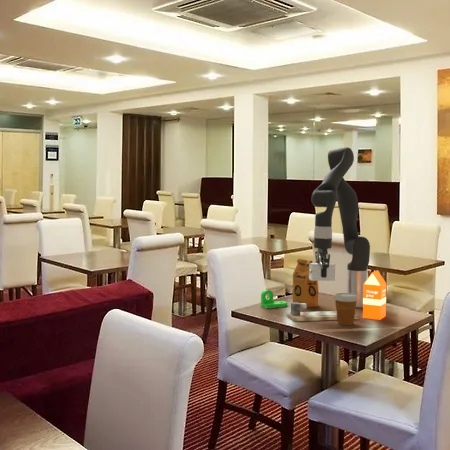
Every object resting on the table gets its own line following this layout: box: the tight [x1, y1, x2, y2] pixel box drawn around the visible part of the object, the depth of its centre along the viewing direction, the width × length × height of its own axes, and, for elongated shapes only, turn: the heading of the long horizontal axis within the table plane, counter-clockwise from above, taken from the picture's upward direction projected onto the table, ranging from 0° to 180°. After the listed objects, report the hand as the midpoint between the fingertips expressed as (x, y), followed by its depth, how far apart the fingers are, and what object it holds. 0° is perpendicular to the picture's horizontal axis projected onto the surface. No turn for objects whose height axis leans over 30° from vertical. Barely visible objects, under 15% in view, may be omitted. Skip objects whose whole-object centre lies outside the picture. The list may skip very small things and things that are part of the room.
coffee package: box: [292, 258, 320, 308], centre depth 278 cm, size 10×12×22 cm
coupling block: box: [309, 262, 336, 282], centre depth 250 cm, size 5×11×7 cm, turn 98°
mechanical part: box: [260, 289, 288, 309], centre depth 275 cm, size 12×6×8 cm, turn 116°
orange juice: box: [362, 270, 387, 321], centre depth 252 cm, size 8×9×20 cm
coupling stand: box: [285, 301, 360, 322], centre depth 251 cm, size 29×11×6 cm, turn 100°
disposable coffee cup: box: [333, 292, 358, 326], centre depth 239 cm, size 10×10×12 cm
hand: (321, 276), depth 250 cm, fingers closed on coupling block, 5 cm apart
